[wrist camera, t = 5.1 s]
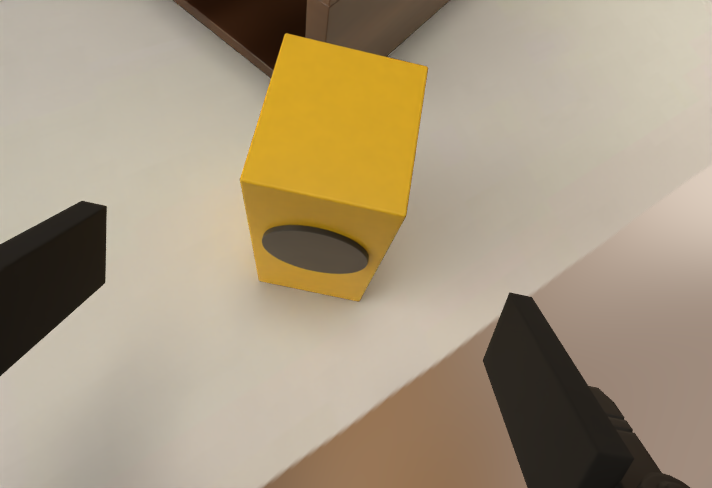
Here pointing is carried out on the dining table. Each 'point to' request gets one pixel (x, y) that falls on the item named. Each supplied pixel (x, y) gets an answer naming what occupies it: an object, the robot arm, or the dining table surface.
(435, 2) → the shelf
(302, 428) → the dining table surface
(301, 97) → the yellow rectangular block
